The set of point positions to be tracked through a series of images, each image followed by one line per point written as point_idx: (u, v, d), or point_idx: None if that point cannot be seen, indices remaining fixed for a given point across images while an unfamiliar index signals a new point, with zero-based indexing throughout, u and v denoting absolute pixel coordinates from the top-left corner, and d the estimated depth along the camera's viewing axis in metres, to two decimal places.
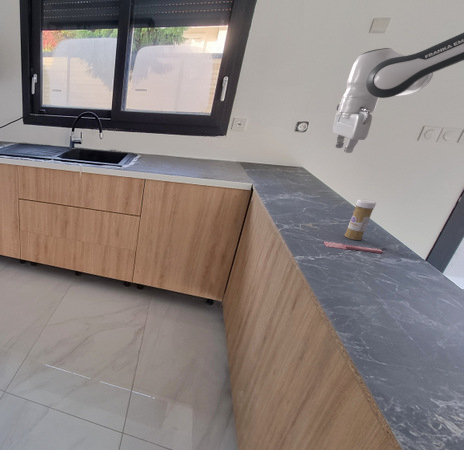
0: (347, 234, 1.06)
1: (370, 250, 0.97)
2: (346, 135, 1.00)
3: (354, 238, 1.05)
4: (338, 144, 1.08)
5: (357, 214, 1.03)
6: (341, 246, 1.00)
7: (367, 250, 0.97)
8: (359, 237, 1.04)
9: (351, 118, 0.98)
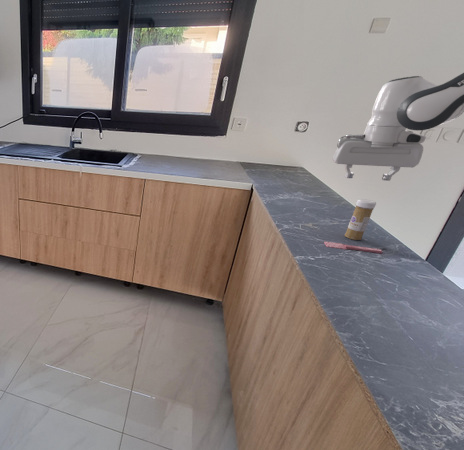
0: (347, 234, 1.06)
1: (370, 250, 0.97)
2: None
3: (354, 238, 1.05)
4: (383, 175, 0.99)
5: (357, 214, 1.03)
6: (341, 246, 1.00)
7: (367, 250, 0.97)
8: (359, 237, 1.04)
9: None
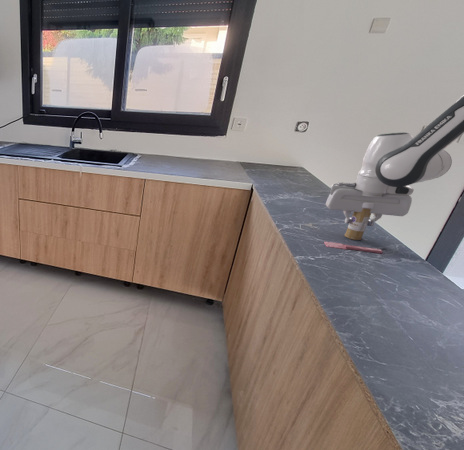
0: (347, 234, 1.06)
1: (370, 250, 0.97)
2: None
3: (354, 238, 1.05)
4: None
5: (357, 214, 1.03)
6: (341, 246, 1.00)
7: (367, 250, 0.97)
8: (359, 237, 1.04)
9: None
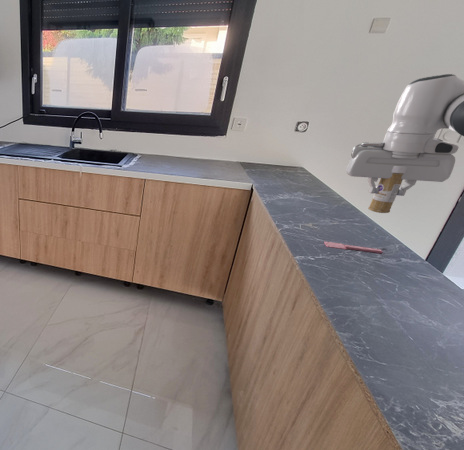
0: (372, 206, 0.88)
1: (370, 250, 0.97)
2: None
3: (381, 211, 0.87)
4: None
5: (385, 181, 0.85)
6: (341, 246, 1.00)
7: (367, 250, 0.97)
8: (387, 209, 0.86)
9: None
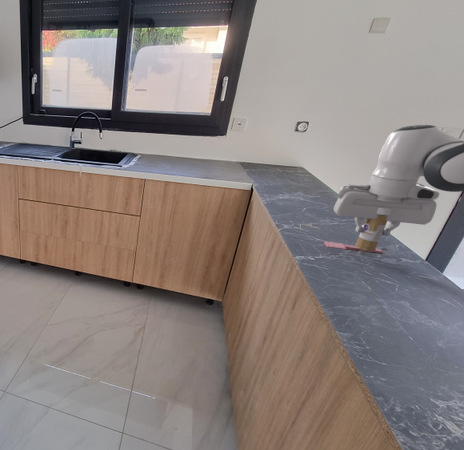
0: (358, 244, 0.92)
1: None
2: None
3: (367, 249, 0.90)
4: None
5: (371, 222, 0.88)
6: (341, 246, 1.00)
7: None
8: (372, 248, 0.90)
9: None
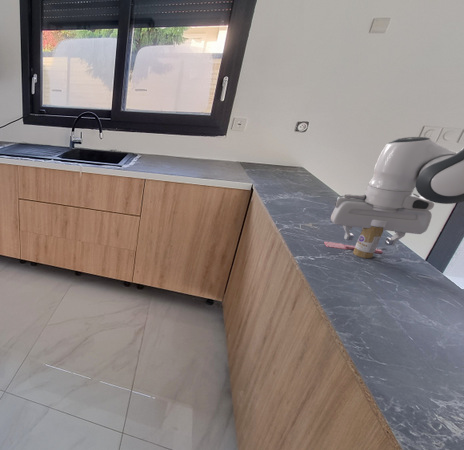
0: None
1: None
2: None
3: None
4: (387, 239, 0.90)
5: (366, 233, 0.89)
6: (341, 246, 1.00)
7: None
8: None
9: None
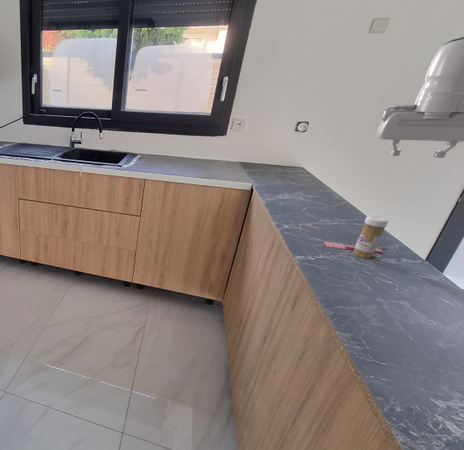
0: None
1: None
2: None
3: None
4: (436, 152, 0.87)
5: (366, 233, 0.89)
6: (341, 246, 1.00)
7: None
8: None
9: None
